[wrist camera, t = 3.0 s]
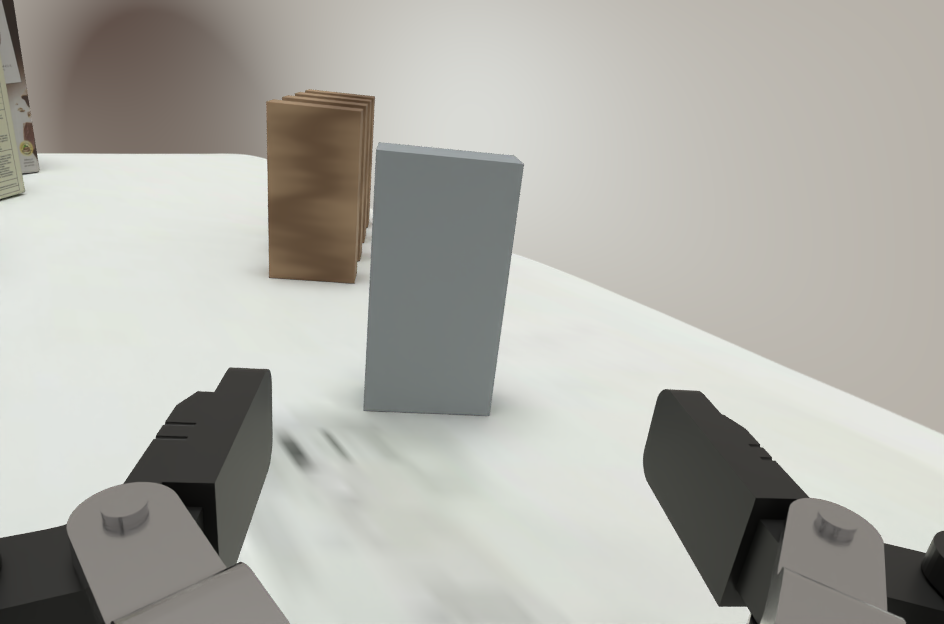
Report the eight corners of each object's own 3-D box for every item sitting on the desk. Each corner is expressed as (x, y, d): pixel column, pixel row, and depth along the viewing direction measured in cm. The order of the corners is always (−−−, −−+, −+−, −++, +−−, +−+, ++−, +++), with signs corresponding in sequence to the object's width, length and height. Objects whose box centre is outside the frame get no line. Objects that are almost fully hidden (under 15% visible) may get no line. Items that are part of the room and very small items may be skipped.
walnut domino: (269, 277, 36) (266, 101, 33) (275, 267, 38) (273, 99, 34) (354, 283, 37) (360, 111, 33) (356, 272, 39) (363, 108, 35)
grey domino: (363, 410, 24) (376, 149, 20) (366, 385, 26) (379, 142, 22) (489, 415, 24) (524, 164, 21) (483, 391, 26) (514, 155, 23)
